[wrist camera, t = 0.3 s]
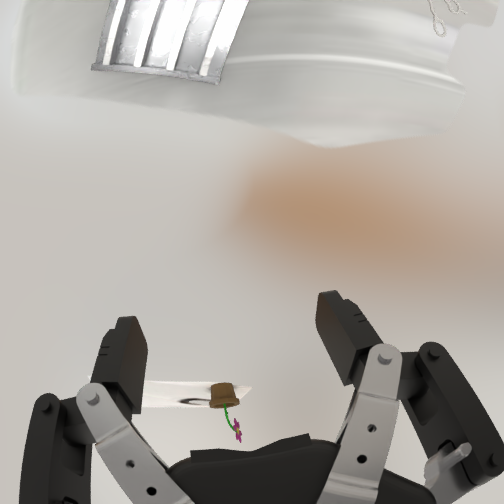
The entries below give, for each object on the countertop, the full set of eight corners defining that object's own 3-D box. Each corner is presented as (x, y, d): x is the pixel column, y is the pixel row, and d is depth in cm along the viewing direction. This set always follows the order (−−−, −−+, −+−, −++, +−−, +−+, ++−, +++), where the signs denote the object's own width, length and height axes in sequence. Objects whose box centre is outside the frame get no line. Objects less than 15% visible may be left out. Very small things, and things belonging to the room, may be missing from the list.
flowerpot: (239, 385, 125) (250, 441, 105) (212, 391, 125) (221, 445, 105) (231, 379, 114) (243, 441, 94) (202, 384, 114) (211, 445, 94)
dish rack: (97, 67, 24) (86, 72, 21) (124, -30, 15) (115, -36, 12) (217, 81, 30) (219, 87, 27) (252, -12, 20) (259, -17, 18)
